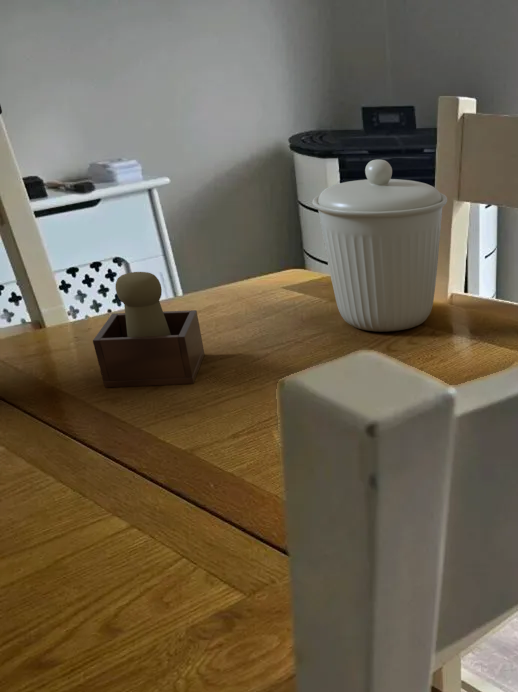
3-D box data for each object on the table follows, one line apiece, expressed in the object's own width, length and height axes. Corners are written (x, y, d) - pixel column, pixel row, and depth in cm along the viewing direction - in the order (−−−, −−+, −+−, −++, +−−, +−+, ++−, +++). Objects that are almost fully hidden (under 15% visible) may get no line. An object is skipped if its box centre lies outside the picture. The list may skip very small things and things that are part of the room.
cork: (129, 359, 106) (107, 270, 100) (177, 353, 108) (159, 265, 101) (132, 375, 101) (109, 282, 95) (182, 368, 103) (163, 277, 97)
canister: (402, 350, 110) (395, 175, 98) (298, 328, 118) (279, 163, 106) (470, 314, 123) (472, 155, 110) (372, 297, 131) (363, 146, 118)
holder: (104, 387, 100) (92, 340, 97) (122, 357, 109) (112, 313, 105) (193, 383, 101) (184, 336, 98) (204, 354, 110) (196, 310, 106)
